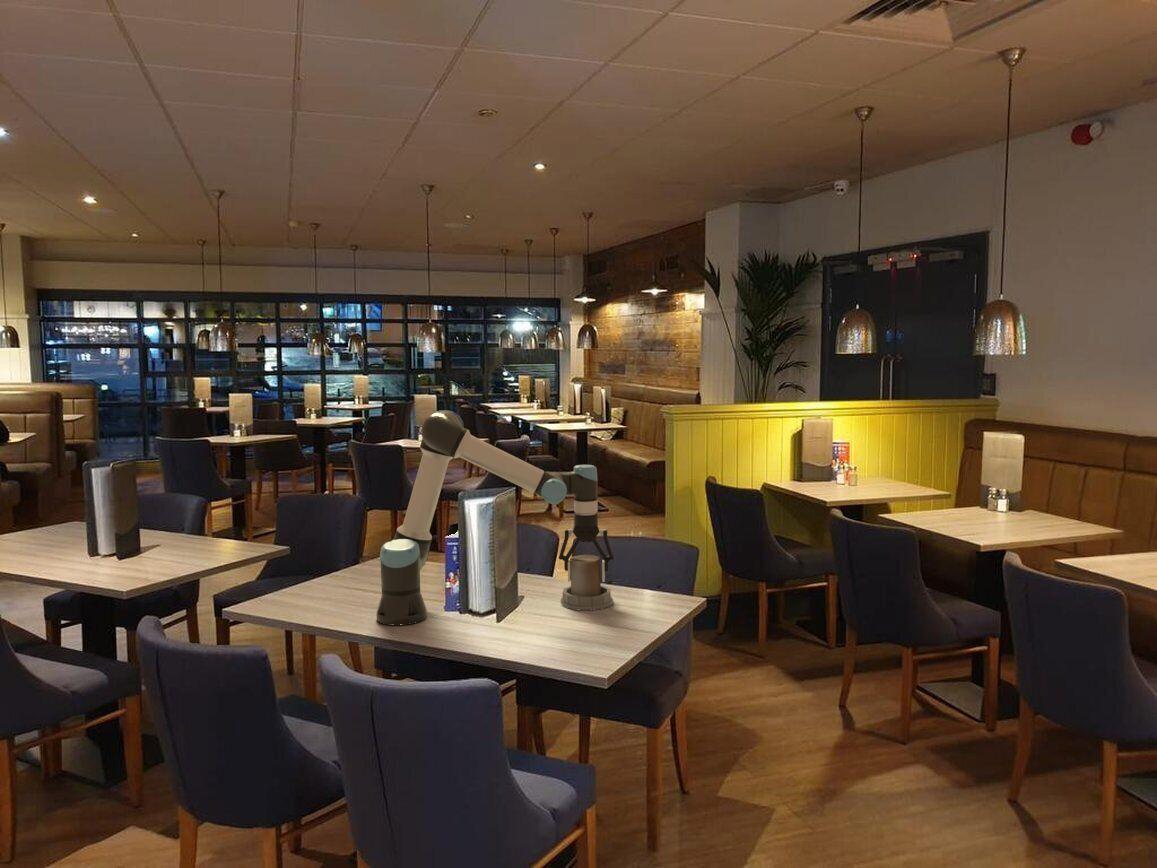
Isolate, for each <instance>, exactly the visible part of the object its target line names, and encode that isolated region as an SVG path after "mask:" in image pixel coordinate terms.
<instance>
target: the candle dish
mask: <svg viewBox="0 0 1157 868" xmlns="http://www.w3.org/2000/svg"><path fill="white" fill-rule="evenodd" d="M611 590H612V589H611V588H610V587H607V586H605V585H601V595H597V596H576V595H571V585H569V586H568V587H567V586H566V587H565V588H563V590H562V597H561V598H560V605H561V604H562V605H563V606H565V607H564V608H566V607H568V608H567V609H569V608H572V609H571V610H573V609H580V610H579V611H585V610H587V611H594V610H593V609H599V610H602V609H601V608H604V609H606V608H605V607H607V608H609V607H608V606H610V605H611V606H612V605H614V599H613V597H612V595H611V594H612V593H611ZM562 605H561V606H562ZM563 606H562V607H563ZM611 606H610V607H611ZM591 609H592V610H591Z"/></svg>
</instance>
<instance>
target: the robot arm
mask: <svg viewBox="0 0 1157 868" xmlns="http://www.w3.org/2000/svg"><path fill="white" fill-rule="evenodd" d="M420 433H421V442H420V445H419V449H420V450H421V452H422V456H421V459H420V463H419V467H418V471H417V474H416V476H415V481H414V485H413V488H412V491H411V494H410V499H409V502H408V506H407V509H406V513H405V516H404V521H403V523H402V524H401V525H400V526H398V527H397V528H396V531H395V534H394V538H393V539H392V540H390V541H387V542H385V543H383V545H382V546H381V547H380V554H379V560H380V582H381V584H380V585H381V596H380V600H379V603H378V607H377V611H376V621H377V620H378V621H379V622H381V623H384V624H383V625H385V624H394V625H393V626H401V625H400V624H409V623H414V624H416V623H415V622H418V623H420V622H422V621H421V620H423V619H424V620H426V619H427V617H428V615H427V614H428V612H427V611H428V610H427V606H426V604H425V601H424V598H423V595H422V593H421V570H422V568H423V567H424V566H425V565H426V563H427V561H428V560H429V557H430V546H431V543H432V540H433V536H432V534H431V532H430V529H431V526H432V523H433V519H434V515H435V512H436V509H437V505H438V501H439V498H440V493H441V491H442V487H443V484H444V480H445V476H446V473H447V470H448V466H449V463H450V461H451V460H453V459H457V458H461V459H463V460H465V461H467V462H469V463H471V464H472V465H475V466H477V467H479V468H481V469H484V470H485V471H488V472H489V473H491V474H494V475H496V476H498V477H500V478H502V479H504V480H506V481H508V482H510V483H512V484H514V485H516V486H518V487H521V488H522V489H525V490H527V491H528V492H531V493H532V494H534V495H537V496H538V497H540V498H542V500H544V501H545V502H546V503H548V504H551V505H557V504H560V503H562V501H564V500H565V498H566V496H573V497H574V498H573V510H574V513H575V514H574V516H573V518H574V523H573V524H574V525H573V526H574V527H573V528H572V529H571V528H570V529H569V528H565V530H564V539H563V542H562V545H561V549H560V552H559V555H558V559H559V560H562V561H563V562H564V563H563V565H564V571H565V572H567V582H568V583H569V582H570V583H571V563H570V558H571V556H572V555H573V553H574V551H575V549H576V547H577V546H578V545H579V543H580V542H581V543H585V542H586V543H591V542H592V543H593V545H594V546H595V547H596V549H597V551H598V552H599V555H600V556H601V558H602V562H601V571H602V572H601V579H602V581H601V582H602V583H605V581H606V572H608V571H609V562H610V561H613V560H614V557H615V556H614V552H613V550H612V547H611V544H610V541H609V536H608V529H607V528H604V529H601V528H599V525H598V521H599V520H598V518H599V517H598V516H599V515H598V514H597V513H598V511H599V510H598V508H599V507H598V506H599V505H598V503H599V502H598V482H599V481H598V470H597V469H598V468H597V467H596V466H595V465H592V464H577V465H575V466H574V467H573V471H544V470H543V469H541V468H540V467H537V466H534V465H532V464H530V463H529V462H526V461H524V460H523V459H520V458H519V457H517V456H514V455H512V454H511V453H509V452H506V451H504V450H502V449H500V448H498V447H495V446H494V445H492V444H490V443H488V442H486V441H484V440H482V439H480V438H478V437H476V436H474V435H472V434H471V432H470V429H468V428H465V427H464V421H463V419H462V418H461V417H460V415H458V414H457V413H455V412H454V411H451V410H446V409H444V410H443V409H441V410H438V411H435V412H434V413H431V414H429V415H428V416H427V417H426V418H425V419H424V421H423V422H422V424H421V428H420ZM572 534H573V535H574V536H575V540H574V542H573V543H572V545H571V547H570V548H569V549H568V551H567V553H566V555H565V554H564V553H565V551H566V547H567V545H568V541H569V538H570V537H571V536H572ZM599 534H600V536H601V537H603V541H604V544H605V547H606V551H607V554H606V551H605V550H604V548H603V547H602V545H601V544H600V542H599V541H598V538H597V536H598V535H599ZM425 618H426V619H425ZM424 620H423V621H424ZM419 621H420V622H419ZM379 622H378V623H379ZM381 623H380V624H381ZM409 625H410V624H409Z"/></svg>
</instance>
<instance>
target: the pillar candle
mask: <svg viewBox="0 0 1157 868" xmlns="http://www.w3.org/2000/svg"><path fill="white" fill-rule="evenodd" d="M569 560H570V563H571V581H570V586H571V595H576V596H597V595H601V586H602V585H601V582H602V581H601V558H600V556H598V555H593V554H579V555H574V556H572V557H571V556H570V558H569Z"/></svg>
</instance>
